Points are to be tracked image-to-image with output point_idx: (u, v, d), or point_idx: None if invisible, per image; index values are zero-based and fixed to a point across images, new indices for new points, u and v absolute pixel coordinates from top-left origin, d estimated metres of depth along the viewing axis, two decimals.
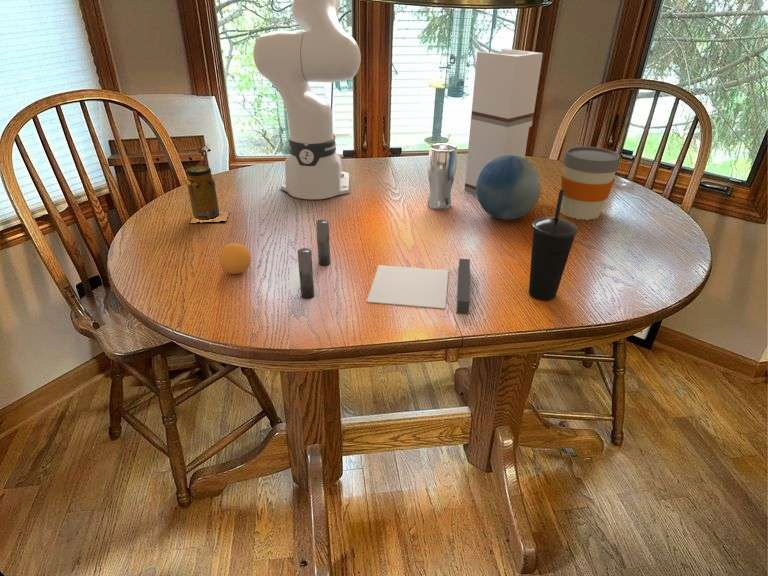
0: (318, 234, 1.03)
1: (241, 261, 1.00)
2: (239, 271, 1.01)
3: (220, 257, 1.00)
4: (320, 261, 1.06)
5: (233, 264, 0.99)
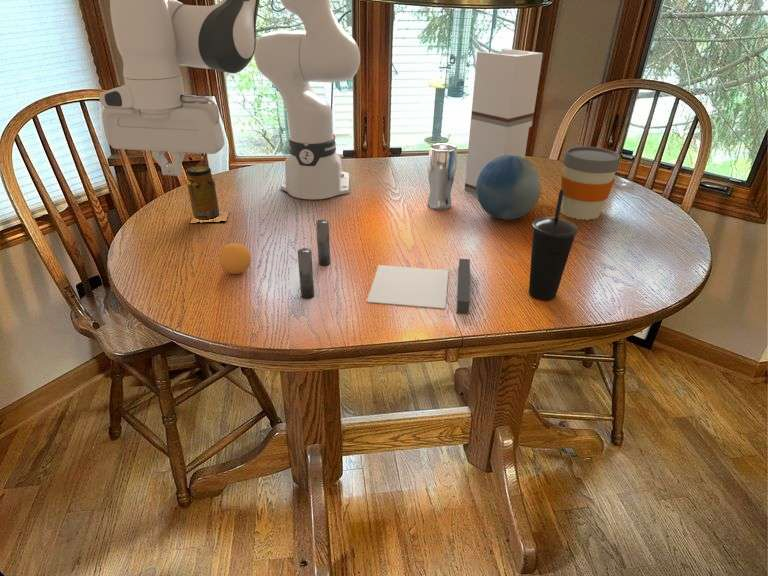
0: (318, 234, 1.03)
1: (241, 261, 1.00)
2: (239, 271, 1.01)
3: (220, 257, 1.00)
4: (320, 261, 1.06)
5: (233, 264, 0.99)
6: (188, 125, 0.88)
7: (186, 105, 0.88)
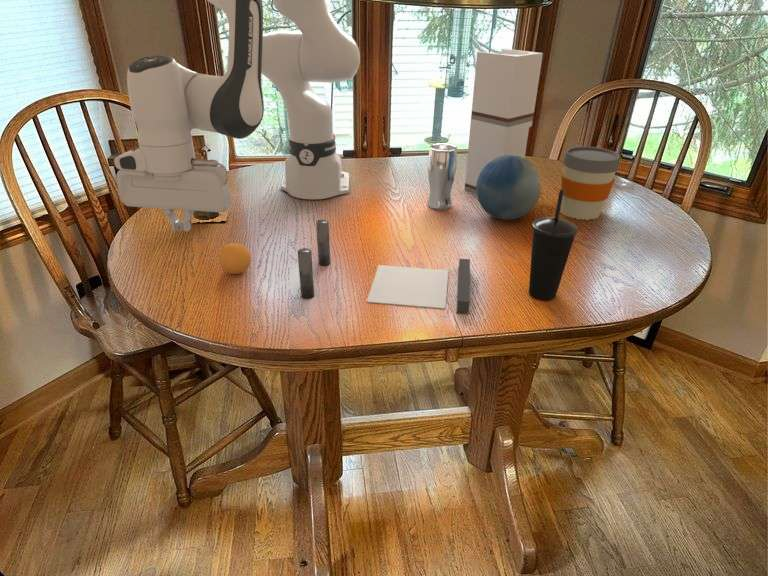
0: (318, 234, 1.03)
1: (241, 261, 1.00)
2: (239, 271, 1.01)
3: (220, 257, 1.00)
4: (320, 261, 1.06)
5: (233, 264, 0.99)
6: (198, 186, 0.93)
7: (196, 168, 0.93)
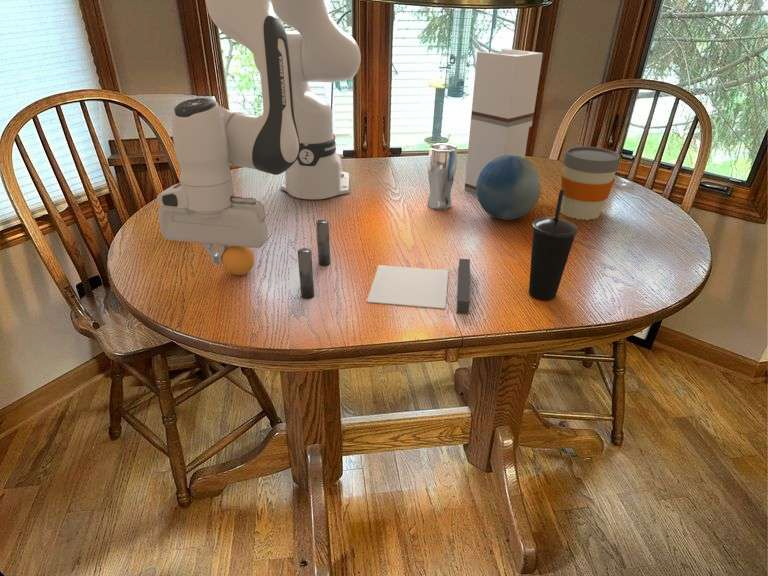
0: (318, 234, 1.03)
1: (246, 266, 1.00)
2: (241, 274, 1.01)
3: (225, 257, 0.99)
4: (320, 261, 1.06)
5: (238, 267, 0.99)
6: (237, 223, 0.96)
7: (235, 205, 0.95)
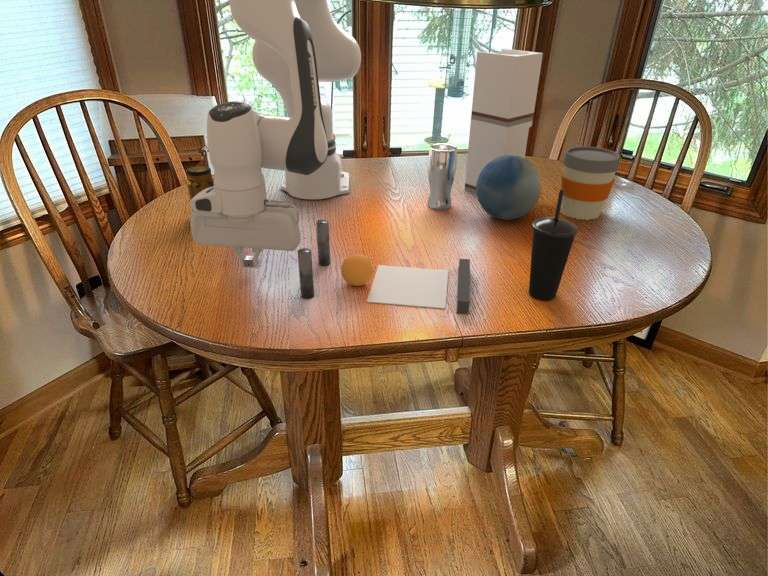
0: (318, 234, 1.03)
1: (362, 284, 0.98)
2: None
3: (356, 266, 0.96)
4: (320, 261, 1.06)
5: (357, 282, 0.97)
6: (270, 226, 0.96)
7: (269, 208, 0.95)
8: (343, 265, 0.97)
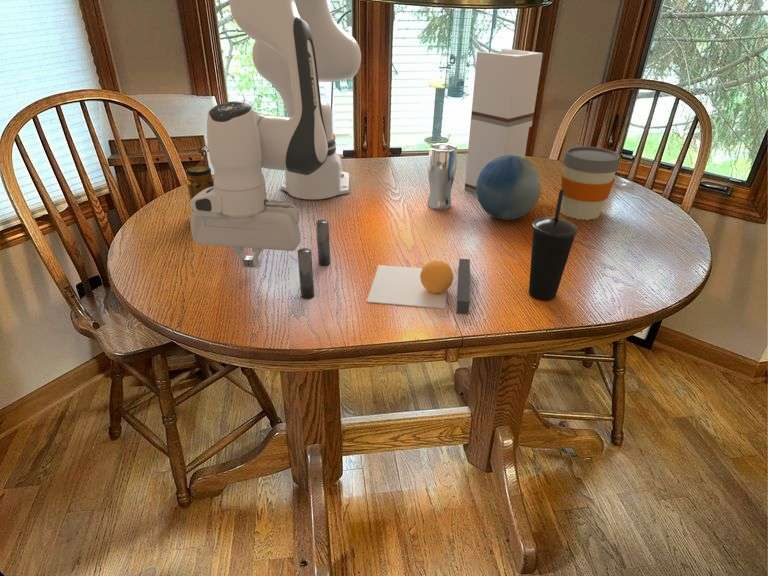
0: (318, 234, 1.03)
1: (449, 281, 0.95)
2: (444, 290, 0.96)
3: (426, 276, 0.94)
4: (320, 261, 1.06)
5: (442, 284, 0.94)
6: (270, 226, 0.96)
7: (269, 208, 0.95)
8: None
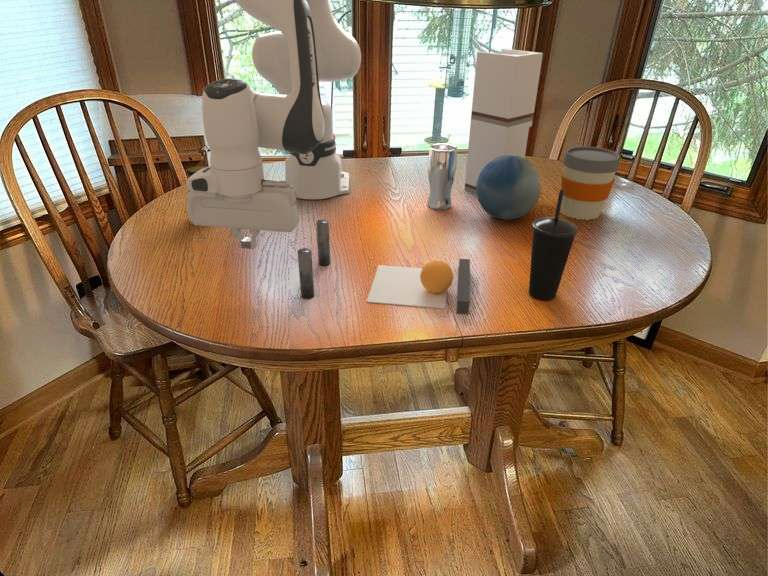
0: (318, 234, 1.03)
1: (449, 281, 0.95)
2: (444, 290, 0.96)
3: (426, 276, 0.94)
4: (320, 261, 1.06)
5: (442, 284, 0.94)
6: (268, 207, 0.94)
7: (266, 189, 0.94)
8: None
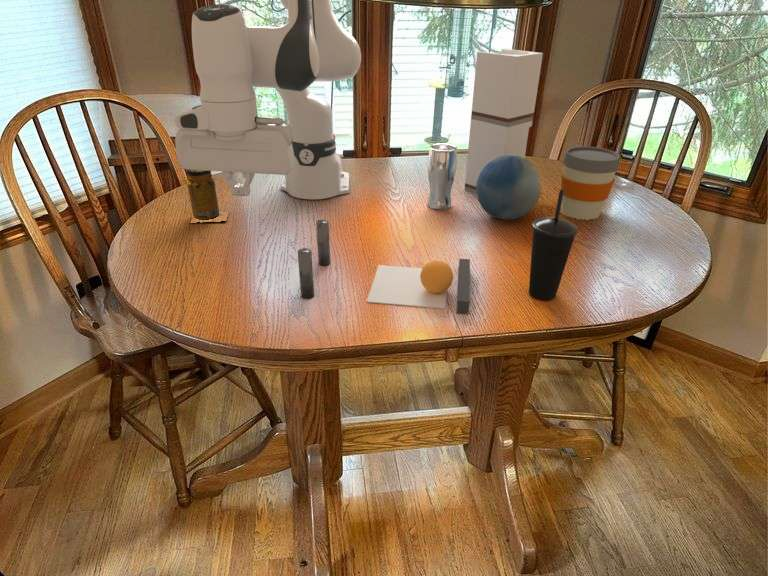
0: (318, 234, 1.03)
1: (449, 281, 0.95)
2: (444, 290, 0.96)
3: (426, 276, 0.94)
4: (320, 261, 1.06)
5: (442, 284, 0.94)
6: (262, 147, 0.88)
7: (260, 127, 0.88)
8: None
